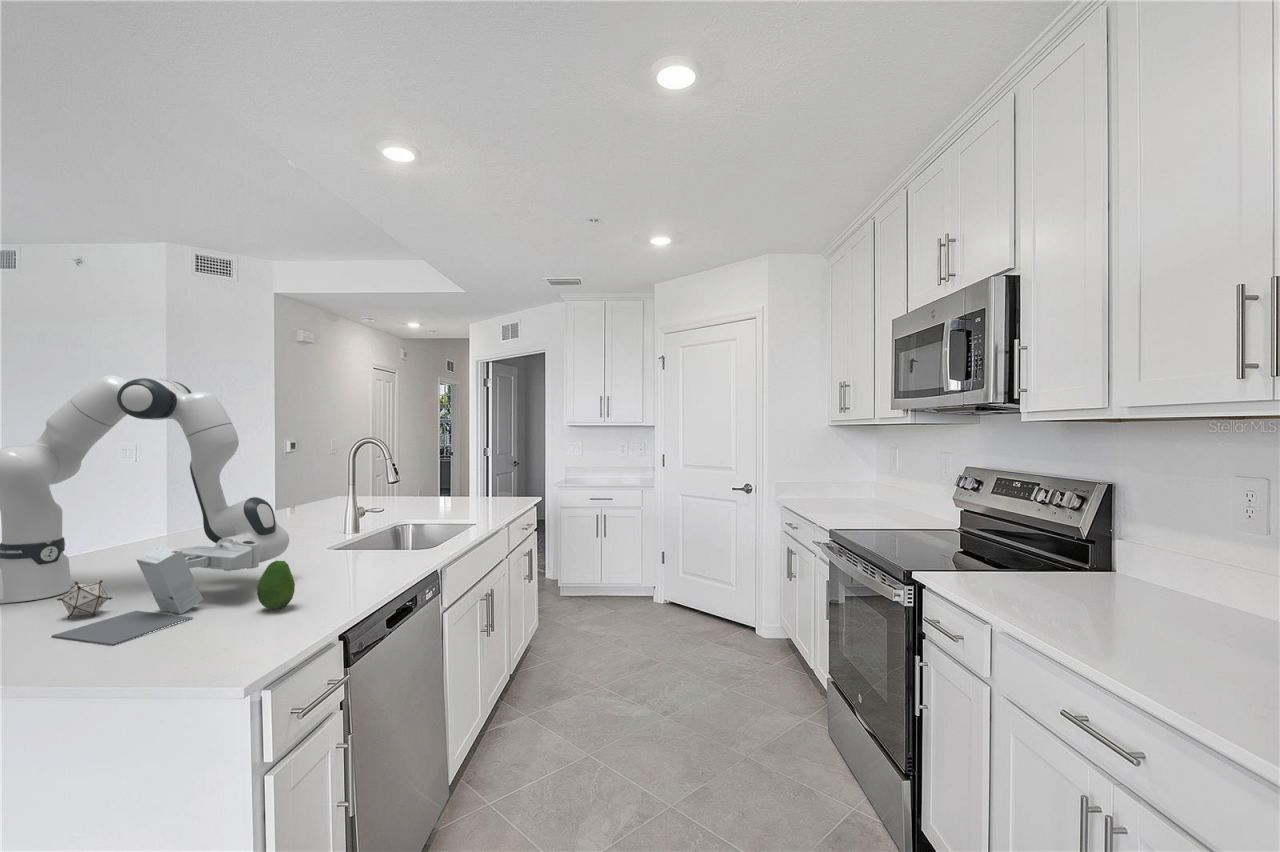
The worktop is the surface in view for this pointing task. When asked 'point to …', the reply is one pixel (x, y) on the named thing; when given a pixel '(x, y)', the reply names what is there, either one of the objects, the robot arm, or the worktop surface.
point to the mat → (121, 628)
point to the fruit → (276, 586)
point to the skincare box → (169, 579)
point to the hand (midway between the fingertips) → (181, 565)
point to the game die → (84, 599)
